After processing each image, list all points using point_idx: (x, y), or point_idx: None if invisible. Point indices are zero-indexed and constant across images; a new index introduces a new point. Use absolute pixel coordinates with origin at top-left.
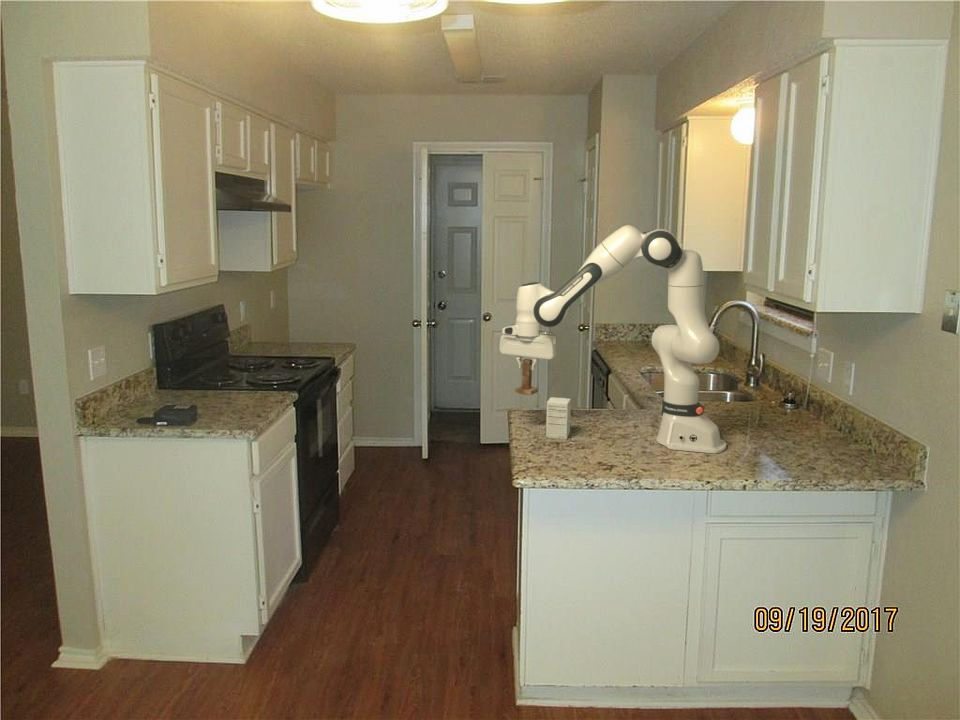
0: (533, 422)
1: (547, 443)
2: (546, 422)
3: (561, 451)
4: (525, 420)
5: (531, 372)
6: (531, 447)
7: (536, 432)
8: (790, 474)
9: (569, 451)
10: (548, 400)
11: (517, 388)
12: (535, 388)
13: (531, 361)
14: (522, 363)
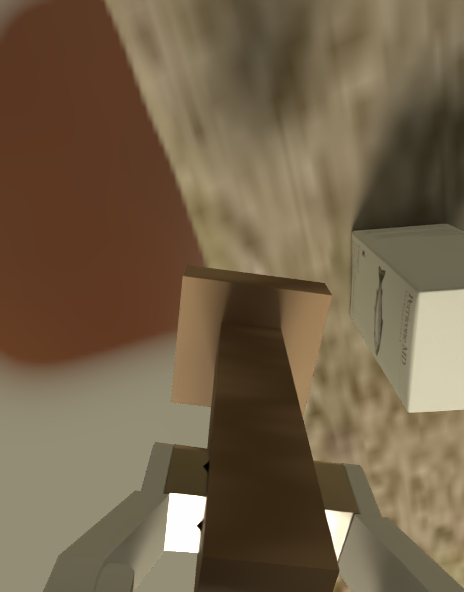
0: (240, 92)
1: (366, 378)
2: (369, 346)
3: (425, 438)
4: (187, 68)
5: (300, 422)
6: (317, 433)
7: (295, 259)
8: None
9: (453, 430)
10: (414, 374)
11: (183, 383)
12: (318, 331)
13: (326, 563)
14: (166, 501)
